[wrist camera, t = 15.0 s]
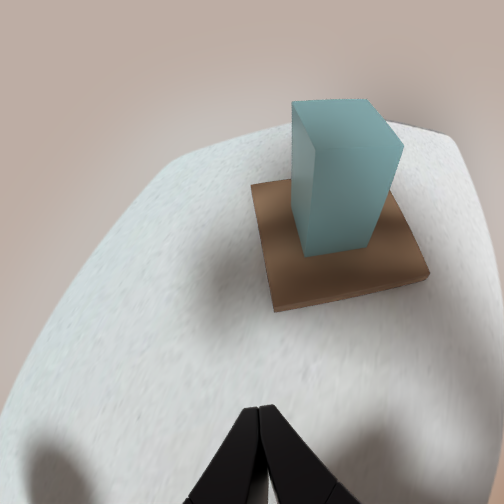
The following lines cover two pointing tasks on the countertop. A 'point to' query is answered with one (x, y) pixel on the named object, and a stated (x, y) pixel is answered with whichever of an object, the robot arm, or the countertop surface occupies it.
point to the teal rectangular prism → (340, 172)
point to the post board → (331, 255)
